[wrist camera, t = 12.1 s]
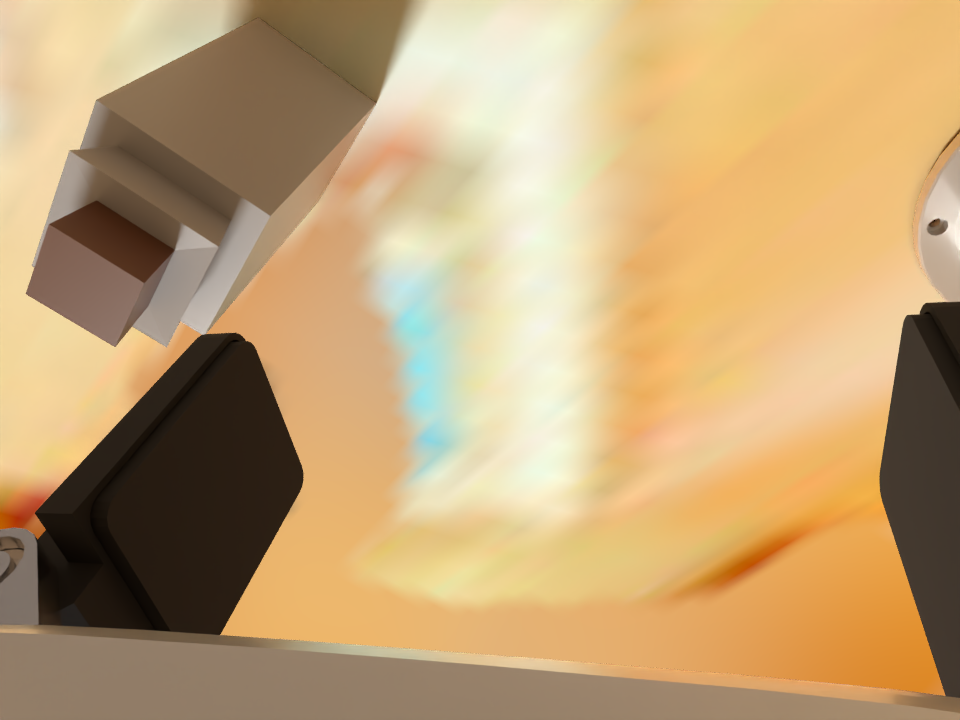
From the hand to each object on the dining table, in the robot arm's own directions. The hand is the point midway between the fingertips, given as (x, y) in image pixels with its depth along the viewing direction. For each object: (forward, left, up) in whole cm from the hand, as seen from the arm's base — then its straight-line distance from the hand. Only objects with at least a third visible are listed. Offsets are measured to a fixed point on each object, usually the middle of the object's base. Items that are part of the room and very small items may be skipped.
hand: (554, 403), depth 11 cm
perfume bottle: (+17, +2, -28) cm, 33 cm away
